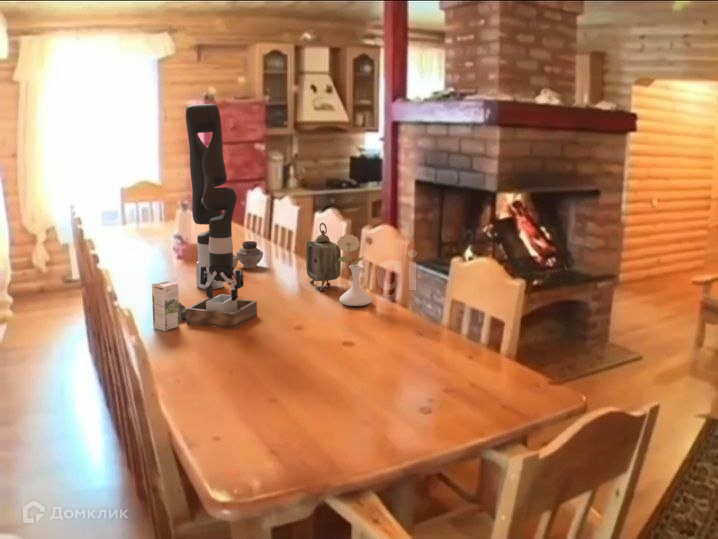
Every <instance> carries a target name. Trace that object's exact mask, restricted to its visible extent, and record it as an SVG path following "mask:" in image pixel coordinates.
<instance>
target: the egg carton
mask: <svg viewBox="0 0 718 539" xmlns="http://www.w3.org/2000/svg"><path fill="white" fill-rule="evenodd" d="M182 319H186V306H185V305H184V304H182V303H181V302H179V322H180V321H182Z"/></svg>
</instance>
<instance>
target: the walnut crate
mask: <svg viewBox="0 0 718 539" xmlns="http://www.w3.org/2000/svg"><path fill="white" fill-rule="evenodd" d="M214 297H215V296H214V295H213V297H212V298H214ZM212 298H208V297H207V298H204V299H202V300H200V301H199V302H196V303H194V304H192V305H191V306H188V307H187V308H186V307H185V309H186V318H185V320H186V324H188V325H195V326H204V327H209V328H210V327H213V328H219V329H228V330H237V329H238V328H239V327H241V326H243V325H244V324H247V322H249V321H250V320H253V319H255V317H257V315H258V310H257V309H258V304H257V302H258V301H256V300H251V299H249V300H248V299H239V298H237V311H235V312H234V313H229V312H220V311H211V310H206V301H208V300H210V299H212Z"/></svg>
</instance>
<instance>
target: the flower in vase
mask: <svg viewBox="0 0 718 539" xmlns="http://www.w3.org/2000/svg"><path fill="white" fill-rule="evenodd" d="M336 244H337V245H338V247H339V249H340V251H341V252H342V251H344V252H348V253H347V254H348V256H344V255H341V258H339V259H338V261H341V263H342V262H343V263H347V262H348V261H349V260H350V262H351V263H352V264H350V265H349V266H348V267H349V269H350V271H351V274H352V283H351V284H352V285H351V287H350V288H349V289H347V291H345V292H344V293H343V294H342V295H341V296H339V302H340V303H341V304H343V305H345V306H350V307H362V306H366V305H369V304H371V302H372V300H373V299H372V297H371V295H369V294H368V293H367V292H366V291H365V290H363V289H362V287H361V286H360V276H361V275H360V274H361V271H362V270H363V268H364V266H363V265H361V264H356V263H360V262H361V261H362V260H363V258H364V256H360V257H358V258H355V260H352V258H351V257H350V252H354V251H357V250H358V248H360V246H361V242H360V240H359V238H358V236H355V235H354V234H343V235H341V236H340V237H339V238H338V240H337V242H336Z"/></svg>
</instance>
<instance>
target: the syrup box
mask: <svg viewBox="0 0 718 539" xmlns="http://www.w3.org/2000/svg"><path fill="white" fill-rule="evenodd" d="M151 297H152V298H151V300H152V318H153V319H152V326H153V329H156V330H158V331H164V332H167V331H170V330H171V331H172V330H173V329H178V328H180V321H179V303H180V302H179V283H177V282H175V281H171V280H163V281H159V282H155V283H152V284H151Z"/></svg>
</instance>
